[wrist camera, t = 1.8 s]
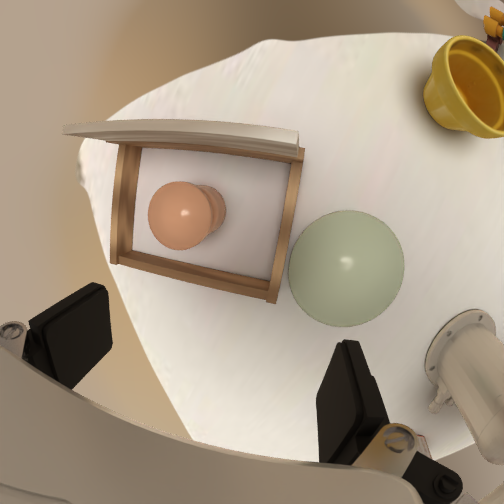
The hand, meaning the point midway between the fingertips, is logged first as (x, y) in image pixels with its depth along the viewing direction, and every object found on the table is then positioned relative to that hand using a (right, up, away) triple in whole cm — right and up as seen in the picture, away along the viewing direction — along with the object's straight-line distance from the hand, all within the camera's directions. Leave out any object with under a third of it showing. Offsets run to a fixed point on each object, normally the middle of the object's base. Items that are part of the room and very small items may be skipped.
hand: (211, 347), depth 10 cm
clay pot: (-4, +8, +20) cm, 22 cm away
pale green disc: (+12, +2, +19) cm, 23 cm away
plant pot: (+24, +21, +13) cm, 34 cm away
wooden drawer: (-4, +8, +20) cm, 22 cm away
